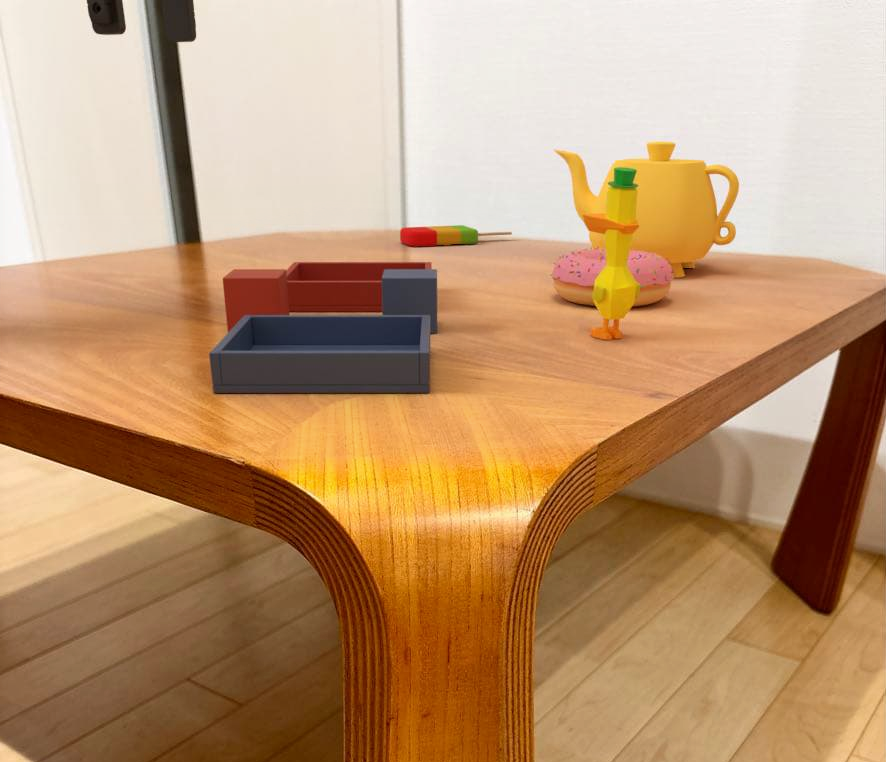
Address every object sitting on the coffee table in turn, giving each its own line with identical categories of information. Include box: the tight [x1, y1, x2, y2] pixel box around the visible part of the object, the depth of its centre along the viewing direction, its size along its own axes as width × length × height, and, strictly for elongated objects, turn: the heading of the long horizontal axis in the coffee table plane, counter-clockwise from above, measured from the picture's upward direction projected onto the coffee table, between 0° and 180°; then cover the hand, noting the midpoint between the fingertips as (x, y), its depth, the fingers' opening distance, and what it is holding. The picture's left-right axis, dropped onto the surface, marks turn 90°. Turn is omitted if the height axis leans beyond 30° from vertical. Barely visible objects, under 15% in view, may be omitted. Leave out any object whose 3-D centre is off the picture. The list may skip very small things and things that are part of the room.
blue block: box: [381, 268, 438, 334], centre depth 72 cm, size 4×4×4 cm
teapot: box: [553, 141, 740, 278], centre depth 97 cm, size 14×20×13 cm
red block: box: [222, 268, 290, 333], centre depth 72 cm, size 4×4×4 cm
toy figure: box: [583, 167, 641, 341], centre depth 67 cm, size 7×4×12 cm, turn 27°
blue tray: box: [208, 314, 431, 394], centre depth 60 cm, size 13×11×2 cm
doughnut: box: [549, 247, 675, 308], centre depth 83 cm, size 11×11×4 cm
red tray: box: [286, 261, 433, 313], centre depth 83 cm, size 13×11×2 cm
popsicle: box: [399, 224, 513, 248], centre depth 119 cm, size 6×15×2 cm, turn 110°
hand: (147, 38), depth 65 cm, fingers open, 8 cm apart
